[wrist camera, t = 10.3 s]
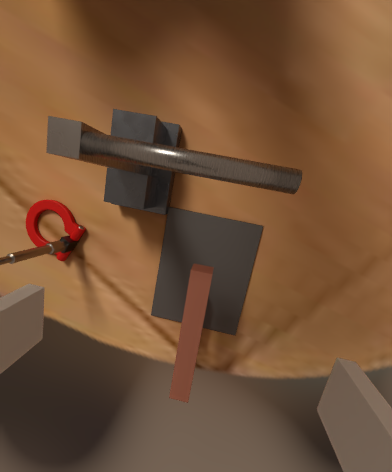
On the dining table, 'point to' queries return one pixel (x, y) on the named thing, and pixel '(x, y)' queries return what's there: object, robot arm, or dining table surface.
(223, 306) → the mat
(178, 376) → the reddish-brown c-shaped bracket
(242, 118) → the dining table surface
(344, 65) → the dining table surface
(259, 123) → the dining table surface
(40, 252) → the tow hook
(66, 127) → the toilet paper holder
